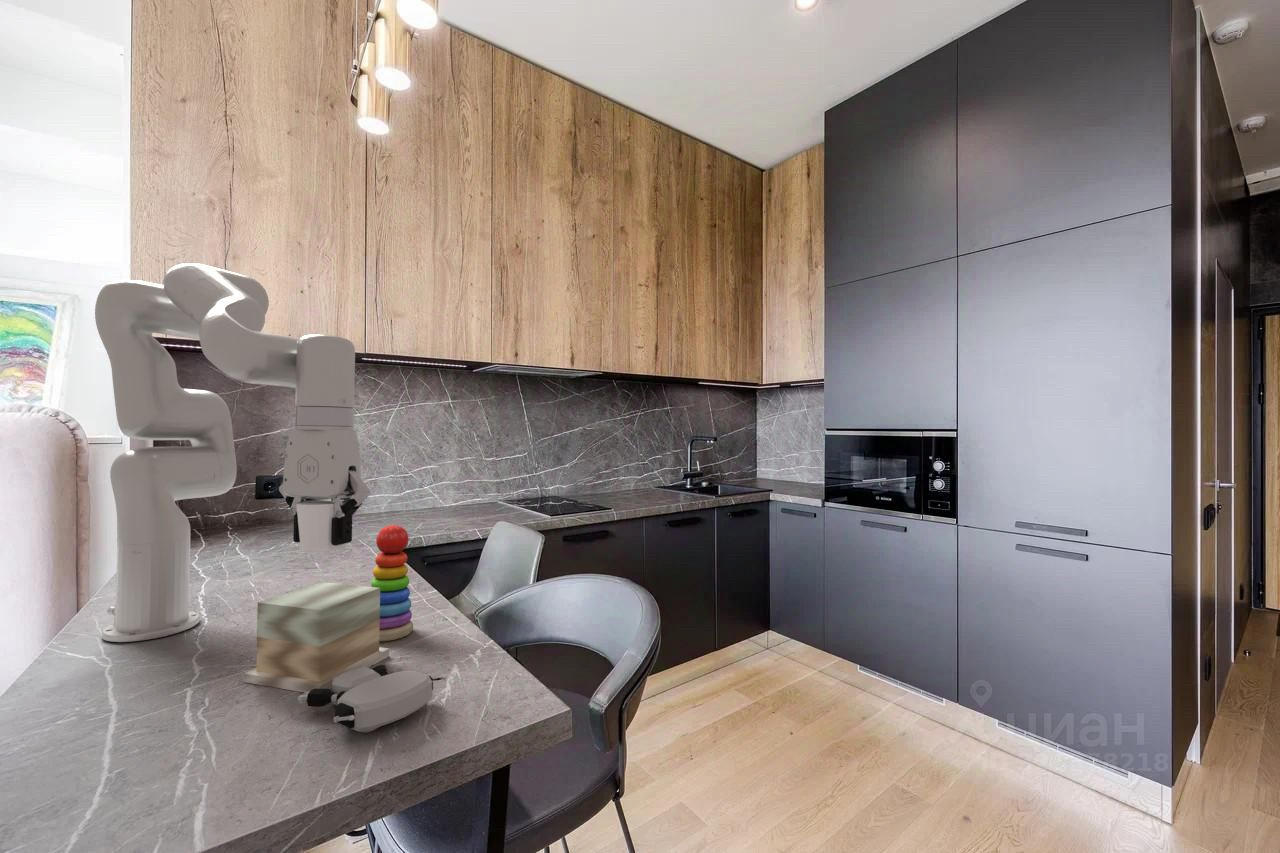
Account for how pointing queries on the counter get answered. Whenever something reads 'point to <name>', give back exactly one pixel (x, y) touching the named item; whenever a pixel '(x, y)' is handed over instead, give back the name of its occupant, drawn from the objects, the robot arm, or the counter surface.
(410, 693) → the robot toy
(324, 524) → the shot glass
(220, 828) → the counter surface
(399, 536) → the stacking toy
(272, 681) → the patterned box
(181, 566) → the robot arm
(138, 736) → the counter surface
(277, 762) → the counter surface
